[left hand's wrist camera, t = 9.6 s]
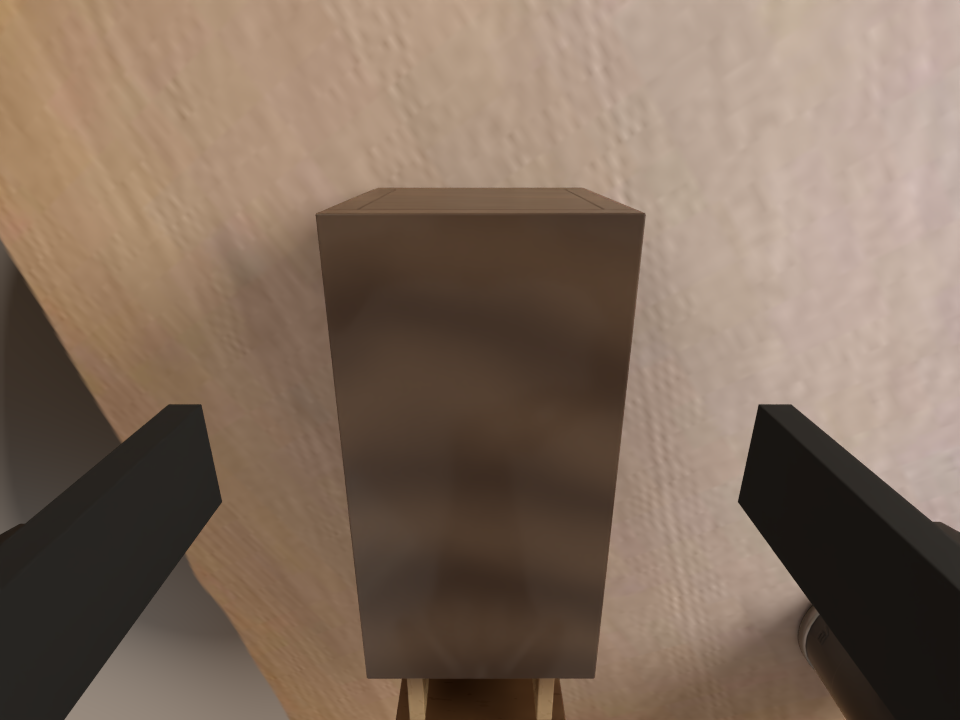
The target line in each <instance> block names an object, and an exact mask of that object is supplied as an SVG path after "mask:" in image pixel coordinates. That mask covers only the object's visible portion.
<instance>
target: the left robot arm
mask: <svg viewBox="0 0 960 720" xmlns="http://www.w3.org/2000/svg"><path fill="white" fill-rule="evenodd" d="M221 503H222V499H221V495H220V490H219V485H218V481H217V476H216V471H215V466H214V462H213V457H212V452H211V448H210V443H209V438H208V434H207V429H206V424H205V420H204V415H203V410H202V406H201V405H168V406H166V407H165V408H164V409H163V410H162V411H160V412H159V413H158V414H157V415H156V416H154V417H153V418H152V419H151V420H150V421H148V422H147V423H146V424H145V425H143V426H142V427H141V428H140V429H139V430H137V431H136V432H135V433H134V434H133V435H131V436H130V437H129V438H128V439H127V440H125V441H124V442H123V443H122V444H121V445H119V446H118V447H117V448H116V449H115V450H113V451H112V452H111V453H110V454H109V455H107V456H106V457H105V458H104V459H103V460H101V461H100V462H99V463H98V464H97V465H95V466H94V467H93V468H92V469H91V470H89V471H88V472H87V473H86V474H85V475H83V476H82V477H81V478H80V479H78V480H77V481H76V482H75V483H74V484H73V485H71V486H70V487H69V488H68V489H66V490H65V491H64V492H63V493H62V494H61V495H59V496H58V497H57V498H56V499H54V500H53V501H52V502H51V503H50V504H48V505H47V506H46V507H45V508H44V509H42V510H41V511H40V512H39V513H38V514H36V515H35V516H34V517H33V518H32V519H30V520H29V521H28V522H27V523H26V524H19V525H17V526H15V527H13V528H12V529H10V530H8V531H6V532H4V533H3V534H1V535H0V720H64V719H65V718H66V717H67V715H68V714H69V712H70V711H71V710H72V708H73V707H74V705H75V704H76V703H77V701H78V700H79V699H80V697H81V696H82V694H83V693H84V692H85V690H86V689H87V688H88V686H89V685H90V683H91V682H92V681H93V679H94V678H95V676H96V675H97V674H98V672H99V671H100V670H101V668H102V667H103V665H104V664H105V663H106V661H107V660H108V658H109V657H110V656H111V654H112V653H113V652H114V650H115V649H116V648H117V646H118V645H119V643H120V642H121V641H122V639H123V638H124V637H125V635H126V634H127V632H128V631H129V630H130V628H131V627H132V625H133V624H134V623H135V621H136V620H137V619H138V617H139V616H140V614H141V613H142V612H143V610H144V609H145V607H146V606H147V605H148V603H149V602H150V601H151V599H152V598H153V596H154V595H155V594H156V592H157V591H158V590H159V588H160V587H161V585H162V584H163V583H164V581H165V580H166V579H167V577H168V576H169V574H170V573H171V572H172V570H173V569H174V568H175V566H176V565H177V563H178V562H179V561H180V559H181V558H182V556H183V555H184V554H185V552H186V551H187V550H188V548H189V547H190V545H191V544H192V543H193V541H194V540H195V539H196V537H197V536H198V534H199V533H200V532H201V530H202V529H203V527H204V526H205V525H206V523H207V522H208V521H209V519H210V518H211V516H212V515H213V514H214V512H215V511H216V510H217V508H218V507H219V505H220V504H221ZM738 503H739V504H740V505H741V507H742V508H743V510H744V511H745V512H746V514H747V515H748V516H749V518H750V519H751V521H752V522H753V523H754V525H755V526H756V527H757V529H758V530H759V532H760V533H761V534H762V536H763V537H764V539H765V540H766V541H767V543H768V544H769V545H770V547H771V548H772V550H773V551H774V552H775V554H776V555H777V556H778V558H779V559H780V561H781V562H782V563H783V565H784V566H785V568H786V569H787V570H788V572H789V573H790V574H791V576H792V577H793V579H794V580H795V581H796V583H797V584H798V585H799V587H800V588H801V590H802V591H803V592H804V594H805V595H806V596H807V598H808V599H809V601H810V602H811V603H812V605H813V606H814V608H815V609H816V610H817V612H818V613H819V614H820V616H821V617H822V619H823V620H824V621H825V623H826V624H827V625H828V627H829V628H830V630H831V631H832V632H833V634H834V635H835V637H836V638H837V639H838V641H839V642H840V643H841V645H842V646H843V648H844V649H845V650H846V652H847V653H848V654H849V656H850V657H851V659H852V660H853V661H854V663H855V664H856V665H857V667H858V668H859V670H860V671H861V672H862V674H863V675H864V677H865V678H866V679H867V681H868V682H869V683H870V685H871V686H872V688H873V689H874V690H875V692H876V693H877V694H878V696H879V697H880V699H881V700H882V701H883V703H884V704H885V706H886V707H887V708H888V710H889V711H890V712H891V714H892V715H893V717H894V718H895V719H896V720H960V532H958V531H956V530H954V529H953V528H951V527H949V526H947V525H945V524H943V523H942V522H932V521H931V520H930V519H928V518H927V517H926V516H925V515H924V514H922V513H921V512H920V511H919V510H918V509H916V508H915V507H914V506H913V505H912V504H910V503H909V502H908V501H907V500H906V499H904V498H903V497H902V496H901V495H900V494H898V493H897V492H896V491H895V490H894V489H892V488H891V487H890V486H889V485H888V484H886V483H885V482H884V481H883V480H882V479H880V478H879V477H878V476H877V475H875V474H874V473H873V472H872V471H871V470H869V469H868V468H867V467H866V466H865V465H863V464H862V463H861V462H860V461H859V460H857V459H856V458H855V457H854V456H853V455H851V454H850V453H849V452H848V451H847V450H845V449H844V448H843V447H842V446H841V445H839V444H838V443H837V442H836V441H835V440H833V439H832V438H831V437H830V436H829V435H827V434H826V433H825V432H824V431H823V430H821V429H820V428H819V427H818V426H817V425H815V424H814V423H813V422H812V421H810V420H809V419H808V418H807V417H806V416H804V415H803V414H802V413H801V412H800V411H798V410H797V409H796V408H795V407H794V406H792V405H759V406H758V410H757V415H756V420H755V424H754V429H753V434H752V438H751V443H750V448H749V452H748V457H747V462H746V466H745V471H744V476H743V481H742V485H741V490H740V495H739V499H738Z"/></svg>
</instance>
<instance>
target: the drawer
mask: <svg viewBox="0 0 960 720" xmlns="http://www.w3.org/2000/svg"><path fill="white" fill-rule="evenodd" d="M396 720H566V719H565V713H564V706H563V699H562V693H561V686H560V679H559V678H516V679H402V682H401V689H400V695H399V702H398V709H397V716H396Z"/></svg>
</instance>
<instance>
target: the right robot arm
mask: <svg viewBox="0 0 960 720" xmlns="http://www.w3.org/2000/svg"><path fill="white" fill-rule="evenodd" d="M798 641H799V646H800V649H801V651H802V653H803V655H804V656H805V658H806V659H807V661H808V662H809V664H810V665H811V667H812V668H813V669H814V670H815V671H816V672H817V674H818V675H819V677H820V679H821V680H822V682H823V683H824V685H825V686H826V688H827V689H828V691H829V693H830V694H831V696H832V697H833V699H834V700H835V702H836V704H837V706H838V707H839V709H840V710H841V712H842V713H843V715H844V717H845V718H846V720H896V719H895V718H894V717H893V715H892V714H891V712H890V711H889V710H888V708H887V707H886V706H885V704H884V703H883V701H882V700H881V699H880V697H879V696H878V694H877V693H876V692H875V690H874V689H873V688H872V686H871V685H870V683H869V682H868V681H867V679H866V678H865V677H864V675H863V674H862V672H861V671H860V670H859V668H858V667H857V665H856V664H855V663H854V661H853V660H852V659H851V657H850V656H849V654H848V653H847V652H846V650H845V649H844V648H843V646H842V645H841V643H840V642H839V641H838V639H837V638H836V637H835V635H834V634H833V632H832V631H831V630H830V628H829V627H828V625H827V624H826V623H825V621H824V620H823V619H822V617H821V616H820V614H819V613H818V612H817V610H816V609H815V608H814V606H813V605H812V606H811V608H810V609H809V610H808V611H807V613H806V614H805V616H804V618H803V620H802V622H801V625H800V628H799V633H798Z"/></svg>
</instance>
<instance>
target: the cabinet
mask: <svg viewBox="0 0 960 720" xmlns="http://www.w3.org/2000/svg"><path fill="white" fill-rule="evenodd" d="M645 216H646V215H645V213H643V212H640V211H638V210H635V209H633V208H631V207H628V206H626V205H623V204H621V203H619V202H616V201H614V200H611V199H609V198H606V197H604V196H602V195H599V194H597V193H594V192H592V191H589V190H587V189H585V188H377V189H374V190H372V191H369V192H367V193H364V194H362V195H359V196H357V197H355V198H352V199H350V200H347V201H345V202H343V203H340V204H338V205H335V206H333V207H331V208H328V209H326V210H324V211H321V212H319V213H317V214H316V222H317V231H318V240H319V249H320V258H321V267H322V276H323V285H324V294H325V303H326V312H327V321H328V330H329V339H330V348H331V358H332V367H333V376H334V385H335V394H336V403H337V412H338V421H339V430H340V439H341V448H342V457H343V466H344V475H345V484H346V493H347V502H348V511H349V520H350V529H351V538H352V547H353V556H354V565H355V574H356V583H357V592H358V601H359V610H360V619H361V628H362V637H363V646H364V656H365V665H366V674H367V678H368V679H516V678H595V669H596V660H597V651H598V642H599V633H600V624H601V615H602V606H603V597H604V588H605V579H606V570H607V561H608V552H609V542H610V533H611V524H612V515H613V506H614V497H615V488H616V479H617V470H618V461H619V452H620V443H621V434H622V425H623V416H624V407H625V398H626V388H627V379H628V370H629V361H630V352H631V343H632V334H633V325H634V316H635V307H636V298H637V289H638V280H639V271H640V262H641V253H642V244H643V234H644V225H645Z"/></svg>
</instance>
